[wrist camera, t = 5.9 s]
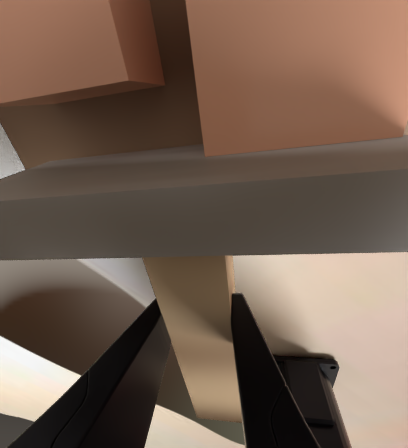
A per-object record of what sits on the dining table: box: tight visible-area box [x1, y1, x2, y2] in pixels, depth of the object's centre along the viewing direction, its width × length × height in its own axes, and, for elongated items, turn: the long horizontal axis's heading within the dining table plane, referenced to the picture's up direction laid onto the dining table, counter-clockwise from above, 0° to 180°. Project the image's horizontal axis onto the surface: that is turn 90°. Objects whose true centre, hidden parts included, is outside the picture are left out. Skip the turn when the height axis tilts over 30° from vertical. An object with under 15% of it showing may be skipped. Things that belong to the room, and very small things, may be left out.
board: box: [0, 0, 408, 170], centre depth 9 cm, size 10×16×3 cm, turn 98°
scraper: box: [0, 134, 408, 423], centre depth 9 cm, size 14×11×4 cm
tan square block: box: [186, 0, 408, 157], centre depth 5 cm, size 4×4×3 cm
